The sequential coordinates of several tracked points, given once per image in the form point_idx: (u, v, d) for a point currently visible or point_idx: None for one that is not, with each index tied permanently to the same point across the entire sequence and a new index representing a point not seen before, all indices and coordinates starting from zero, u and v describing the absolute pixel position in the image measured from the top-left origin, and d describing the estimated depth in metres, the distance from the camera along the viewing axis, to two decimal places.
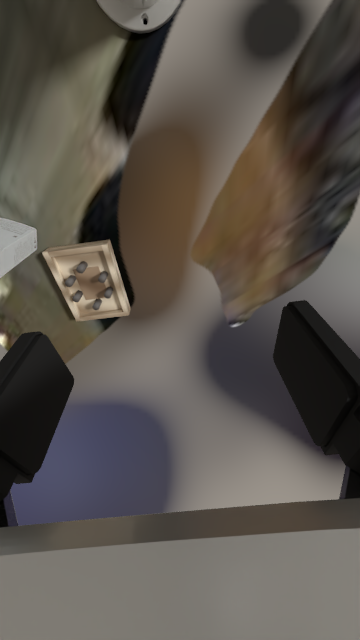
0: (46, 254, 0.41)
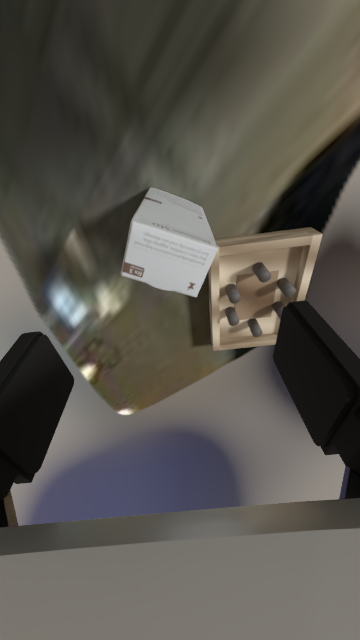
0: None
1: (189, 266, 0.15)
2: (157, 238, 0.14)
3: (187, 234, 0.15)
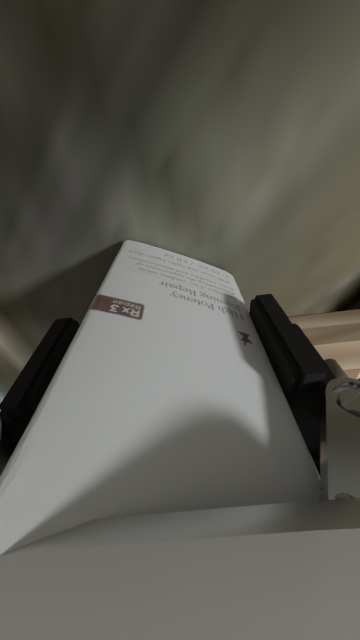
0: None
1: None
2: None
3: None
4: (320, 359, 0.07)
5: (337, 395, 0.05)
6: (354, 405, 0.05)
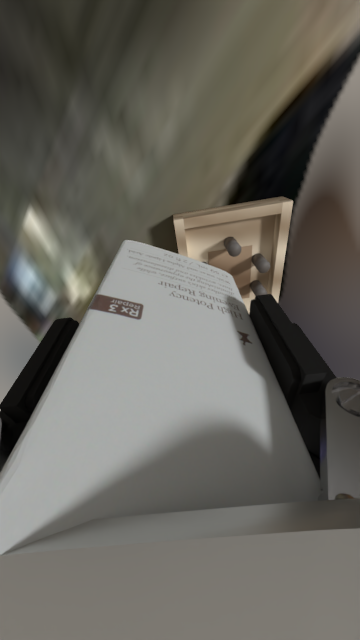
0: (180, 223, 0.23)
1: None
2: None
3: None
4: (320, 358, 0.07)
5: (337, 395, 0.05)
6: (354, 405, 0.05)
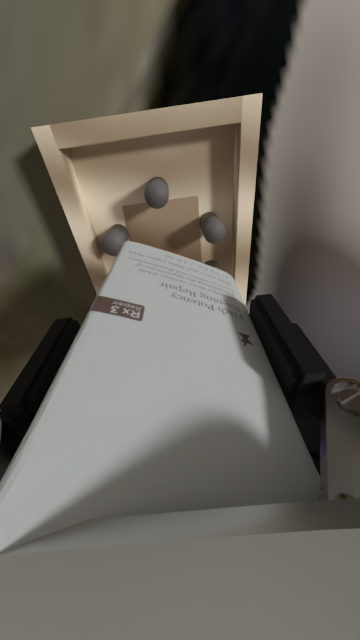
0: (46, 136, 0.12)
1: None
2: None
3: None
4: (320, 358, 0.07)
5: (337, 395, 0.05)
6: (354, 405, 0.05)
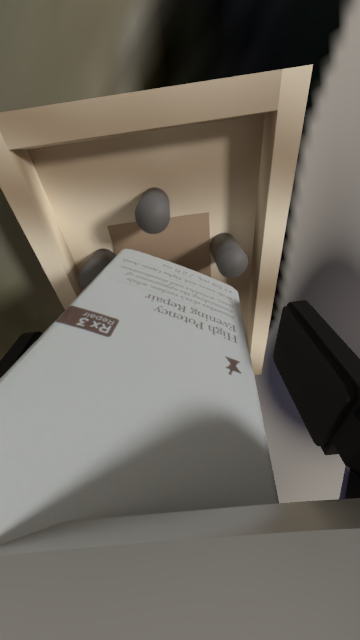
0: None
1: None
2: None
3: None
4: None
5: None
6: None
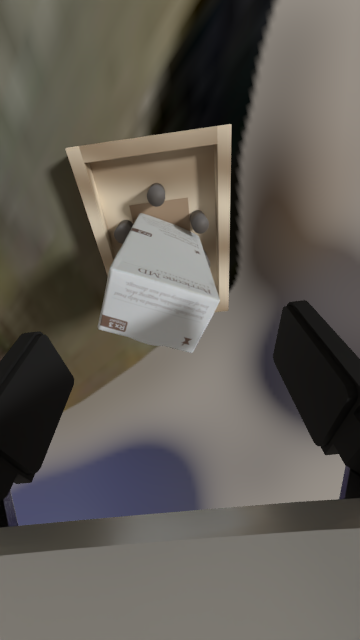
0: (75, 153, 0.16)
1: (184, 320, 0.12)
2: (144, 289, 0.11)
3: (182, 281, 0.12)
4: None
5: None
6: None
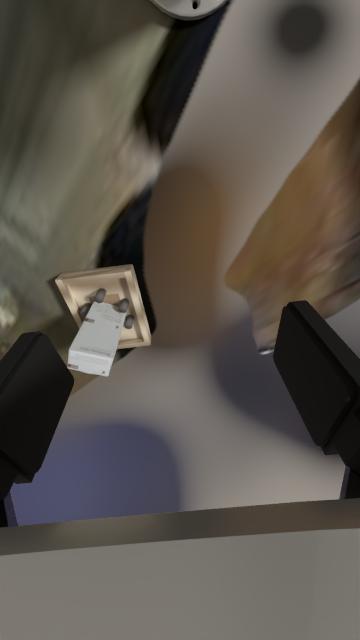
0: (60, 282, 0.35)
1: (100, 365, 0.32)
2: (82, 356, 0.30)
3: (98, 351, 0.31)
4: None
5: None
6: None
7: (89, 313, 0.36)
